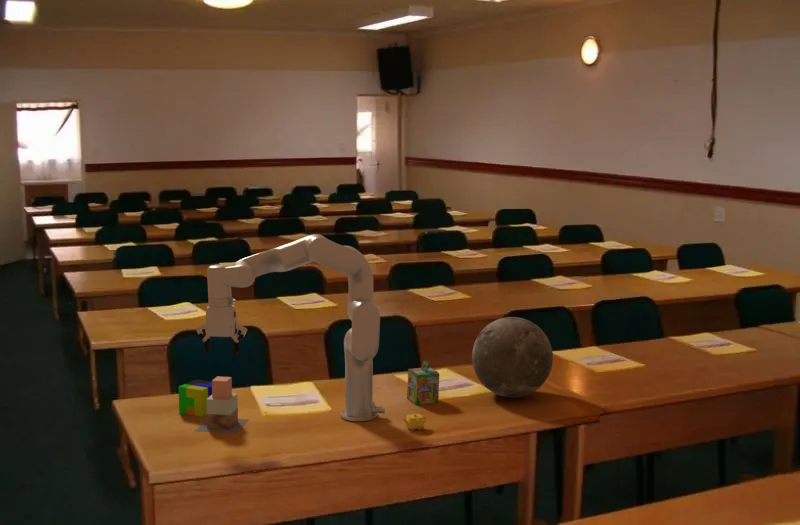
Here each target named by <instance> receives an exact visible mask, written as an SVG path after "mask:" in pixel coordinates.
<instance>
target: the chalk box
mask: <svg viewBox="0 0 800 525" xmlns="http://www.w3.org/2000/svg"><path fill="white" fill-rule="evenodd" d="M429 365H430V363H429V362H427V361H426V360H423V362H422V365H421V367H417V368H415V367H414V368H408V370H407V390H406V392H407V393H406V399H408V400H409V401H410V402H411V403H413V404H414V405H415V406H422V405H431V404H439V394H440V392H439V391H440V373H439V371H437V370H435V368H432V367H430V366H429Z"/></svg>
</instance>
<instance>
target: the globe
mask: <svg viewBox="0 0 800 525" xmlns="http://www.w3.org/2000/svg"><path fill="white" fill-rule="evenodd" d="M553 360H554V354H553V347H552V345H551V342H550V339H549V338H548V336H547V335H546V333H545V331H543V330H542V328H541V327H539V326H538V325H537V324H535V323H534V322H532V321H531V320H528V319H525V318H522V317H518V316H506V317H502V318H499V319H495V320H494V321H492V322H490V323H488V324H487V325H486V326H485V327H484V328H483V329H482V330H481V331H480V332H479V334H478V335H477V336H476V339H475V341H474V344H473V348H472V352H471V362H472V366H473V367H472V368H473V371H474V373H475V375H476V377H477V379H478V380H479V382H480V383H481V384H482V385H483V386H484V387H485V388H486V389H487V390H488V391H490V392H491V393H493V394H494V395H497V396H500V397H504V398H511V399H512V398H515V399H516V398H523V397H527V396H529V395H530V394H532V393H534V392H536V391H537V390H539V389H540V388H541V387H542V386H543V385H544V384H545V383H546V381H547V379H548V378H549V376H550V373H551V371H552V367H553Z"/></svg>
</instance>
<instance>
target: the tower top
mask: <svg viewBox="0 0 800 525" xmlns="http://www.w3.org/2000/svg"><path fill="white" fill-rule="evenodd" d="M238 398H239V397H238V392H237V393H235V392H232V395H231V396H230V397H228V398H227V399H219V398H212V395H211V396H210V397H208V398H207V399H206V408H207V414H218V415H231V414H232V413H233V412H234V411H235V410H236V409H237V408H238V407H239V406H238V405H239V402H238ZM238 409H239V408H238Z"/></svg>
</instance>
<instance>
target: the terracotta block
mask: <svg viewBox="0 0 800 525" xmlns="http://www.w3.org/2000/svg"><path fill="white" fill-rule="evenodd" d="M232 381H233V379H232V377H231V376H218V375H217V376H216V377H215V378H213V379H212V380H211V382H212V398H219V399H227V398H228V397H230V396H231V395H232V393H233V382H232Z"/></svg>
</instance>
